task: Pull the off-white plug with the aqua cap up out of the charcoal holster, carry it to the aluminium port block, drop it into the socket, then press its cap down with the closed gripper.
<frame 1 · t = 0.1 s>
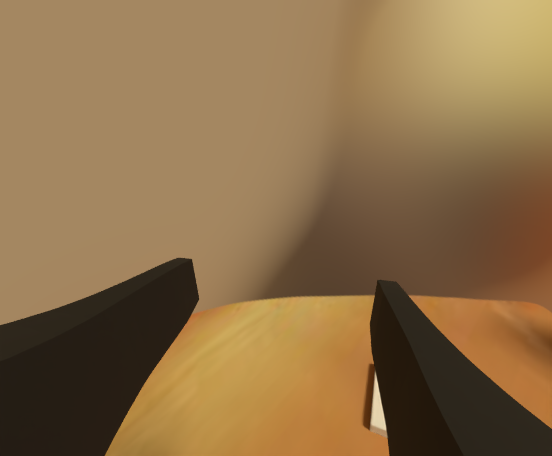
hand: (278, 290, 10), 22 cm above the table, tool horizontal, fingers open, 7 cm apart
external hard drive: (434, 422, 27), on the table
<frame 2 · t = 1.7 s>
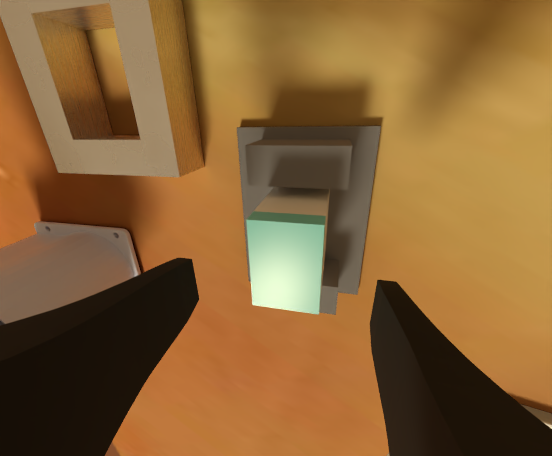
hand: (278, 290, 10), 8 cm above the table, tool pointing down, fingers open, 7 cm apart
holster: (303, 215, 17), on the table
plug: (302, 218, 16), resting on holster
port: (130, 85, 16), on the table
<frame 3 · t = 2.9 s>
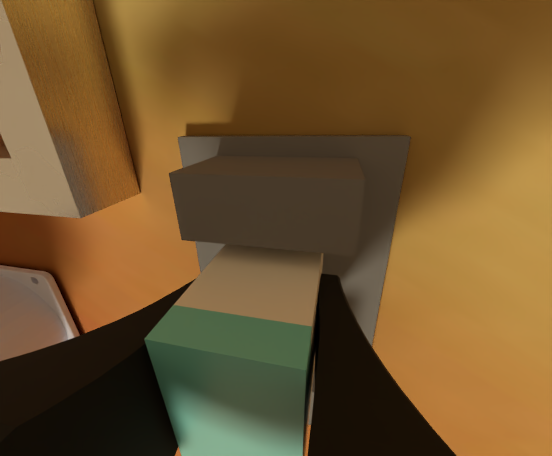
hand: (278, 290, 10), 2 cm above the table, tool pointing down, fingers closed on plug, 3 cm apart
holster: (286, 266, 11), on the table
plug: (284, 272, 11), resting on holster, touching gripper
port: (20, 71, 10), on the table
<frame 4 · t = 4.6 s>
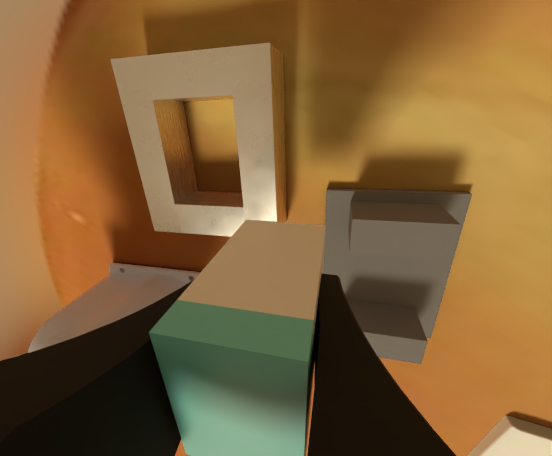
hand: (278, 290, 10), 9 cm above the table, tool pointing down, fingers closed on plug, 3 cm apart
holster: (381, 266, 18), on the table
plug: (285, 270, 11), point 7 cm above the table, touching gripper
port: (222, 149, 17), on the table
when the fingers open (4 cm above the table, at t = 6.3 s): plug drops 2 cm, resting in port.
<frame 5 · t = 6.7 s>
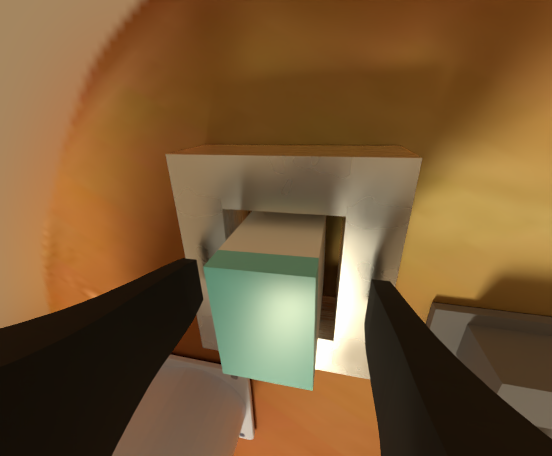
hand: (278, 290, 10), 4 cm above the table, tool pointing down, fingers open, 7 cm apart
holster: (489, 390, 14), on the table
plug: (293, 243, 13), resting in port
port: (293, 245, 13), on the table
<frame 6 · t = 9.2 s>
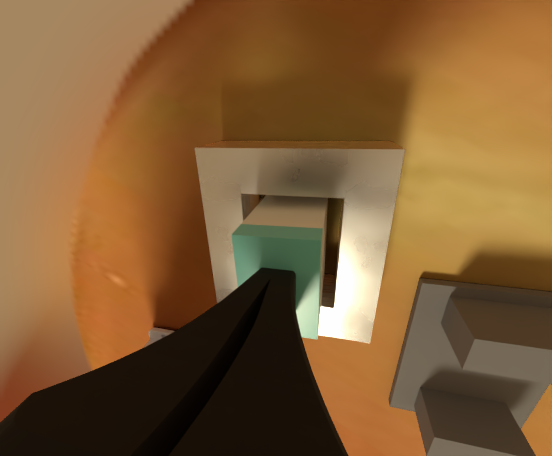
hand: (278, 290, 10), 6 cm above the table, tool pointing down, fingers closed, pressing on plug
holster: (470, 357, 16), on the table
plug: (299, 227, 15), resting in port, touching gripper
port: (299, 229, 15), on the table
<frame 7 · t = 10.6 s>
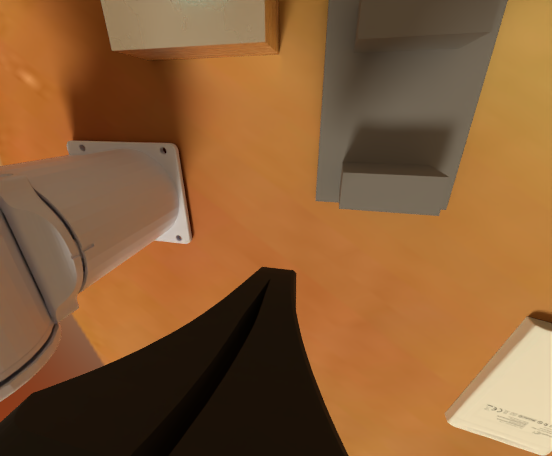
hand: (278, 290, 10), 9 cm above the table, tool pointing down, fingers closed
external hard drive: (528, 379, 21), on the table
holster: (392, 111, 15), on the table
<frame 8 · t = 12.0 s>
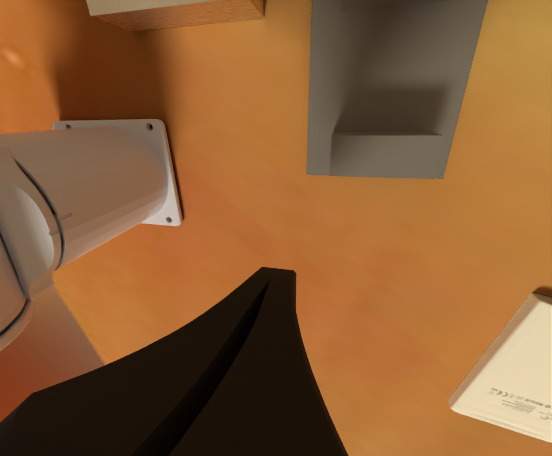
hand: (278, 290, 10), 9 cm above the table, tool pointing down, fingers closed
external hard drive: (534, 361, 20), on the table
holster: (383, 75, 14), on the table
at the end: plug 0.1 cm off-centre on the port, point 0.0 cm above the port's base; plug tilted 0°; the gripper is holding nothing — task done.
